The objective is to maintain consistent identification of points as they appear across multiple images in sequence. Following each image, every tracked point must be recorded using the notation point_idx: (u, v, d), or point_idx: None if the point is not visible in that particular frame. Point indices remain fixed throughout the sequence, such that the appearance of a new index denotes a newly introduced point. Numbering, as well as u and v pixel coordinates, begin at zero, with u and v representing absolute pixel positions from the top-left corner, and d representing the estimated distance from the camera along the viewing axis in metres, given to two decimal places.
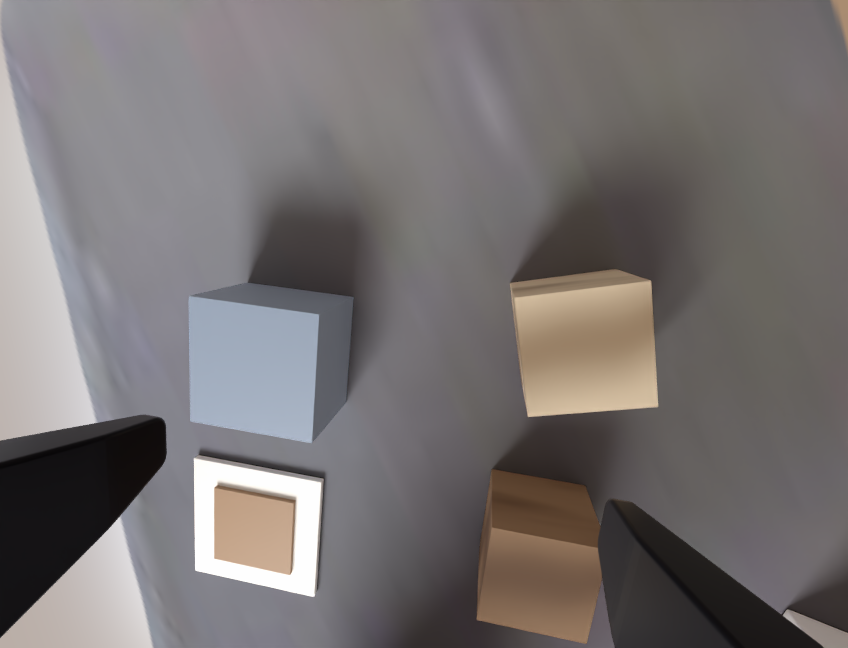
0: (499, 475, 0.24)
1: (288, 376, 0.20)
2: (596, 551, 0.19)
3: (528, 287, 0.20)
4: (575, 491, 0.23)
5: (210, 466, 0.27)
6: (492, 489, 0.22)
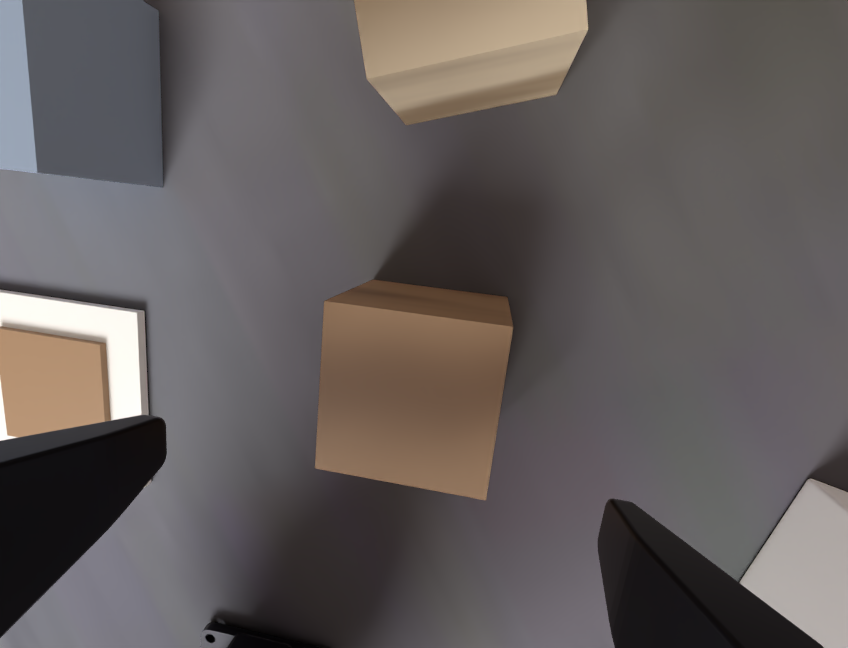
0: (380, 282, 0.16)
1: None
2: (493, 331, 0.11)
3: None
4: (489, 297, 0.15)
5: None
6: (358, 287, 0.15)
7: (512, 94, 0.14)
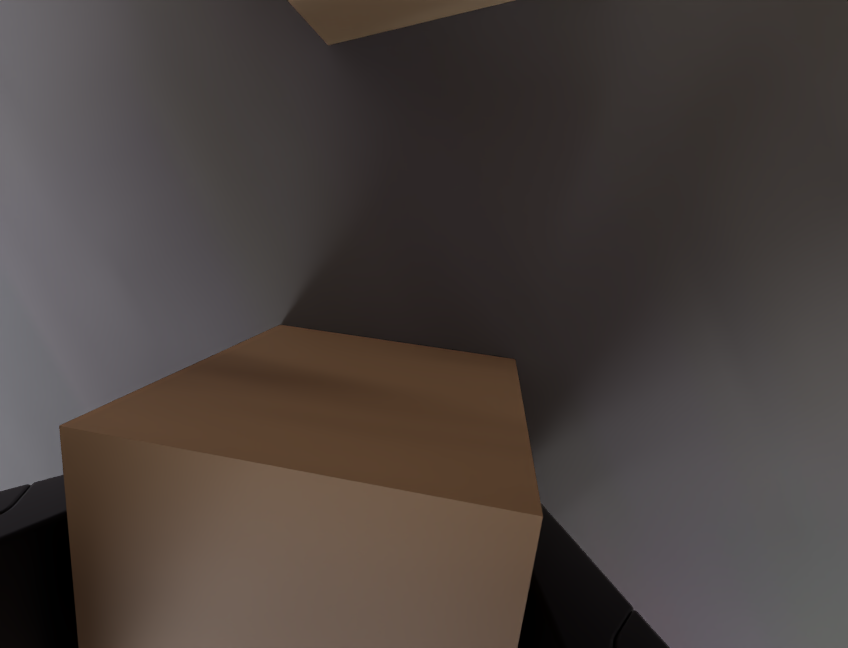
0: (285, 332, 0.09)
1: None
2: (488, 523, 0.04)
3: None
4: (482, 367, 0.08)
5: None
6: (228, 351, 0.08)
7: None
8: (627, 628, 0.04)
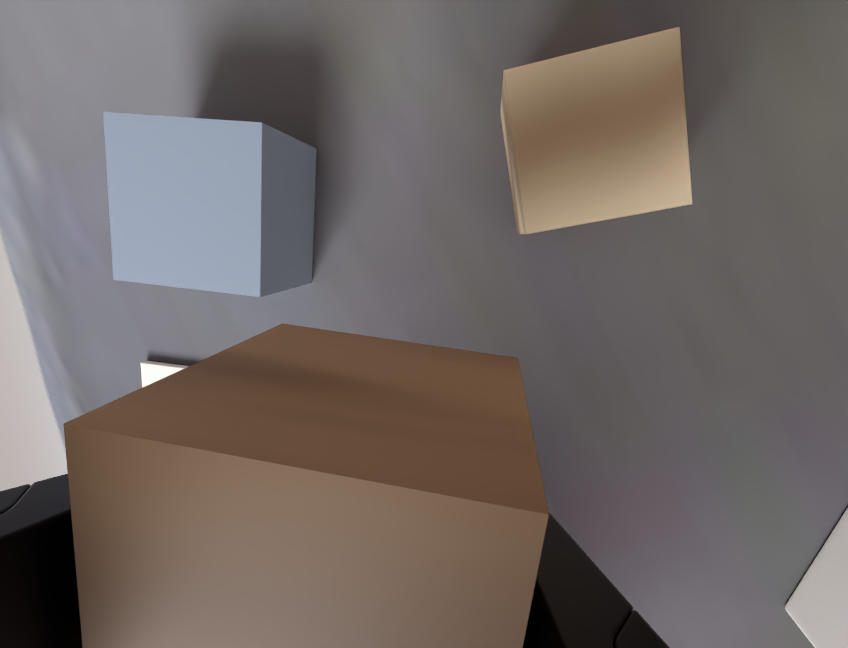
0: (288, 331, 0.09)
1: (227, 209, 0.16)
2: (493, 521, 0.04)
3: None
4: (485, 366, 0.08)
5: (160, 371, 0.23)
6: (230, 350, 0.08)
7: None
8: (627, 628, 0.04)
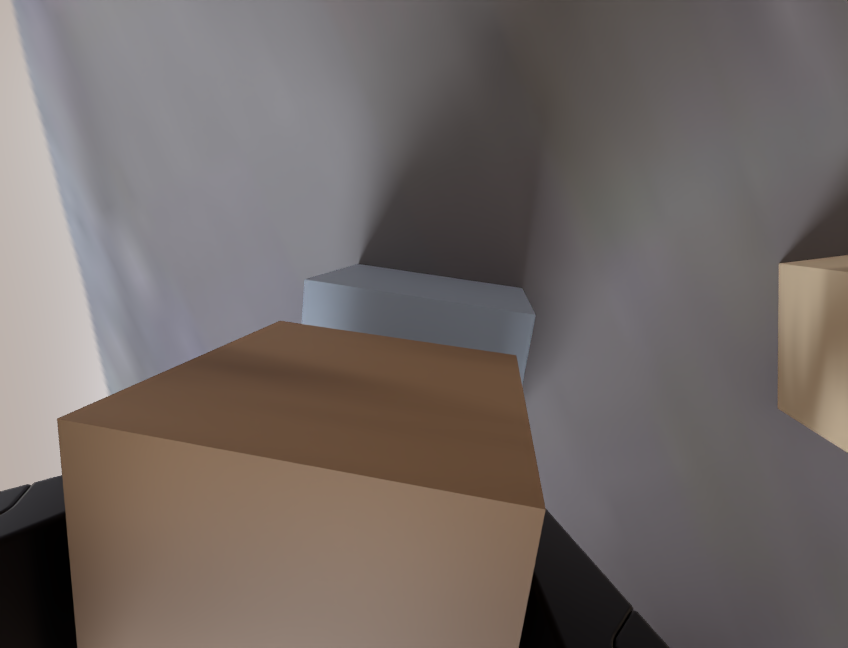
0: (285, 328, 0.09)
1: None
2: (490, 516, 0.04)
3: None
4: (483, 362, 0.08)
5: None
6: (227, 346, 0.08)
7: None
8: (627, 628, 0.04)
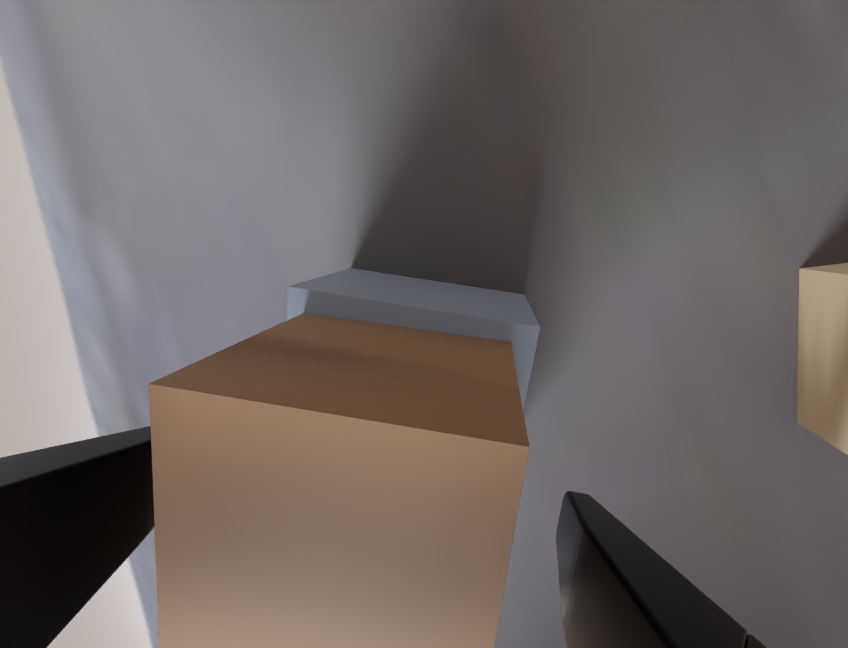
0: (309, 319, 0.10)
1: None
2: (487, 453, 0.05)
3: None
4: (482, 347, 0.09)
5: None
6: (263, 333, 0.09)
7: None
8: None
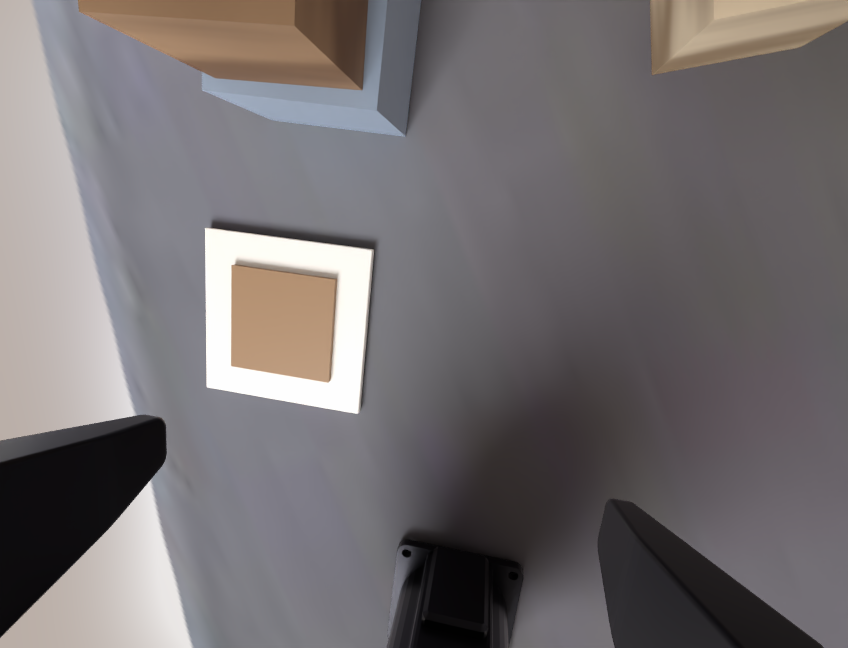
0: None
1: None
2: None
3: None
4: None
5: (226, 238, 0.21)
6: None
7: (773, 44, 0.15)
8: None
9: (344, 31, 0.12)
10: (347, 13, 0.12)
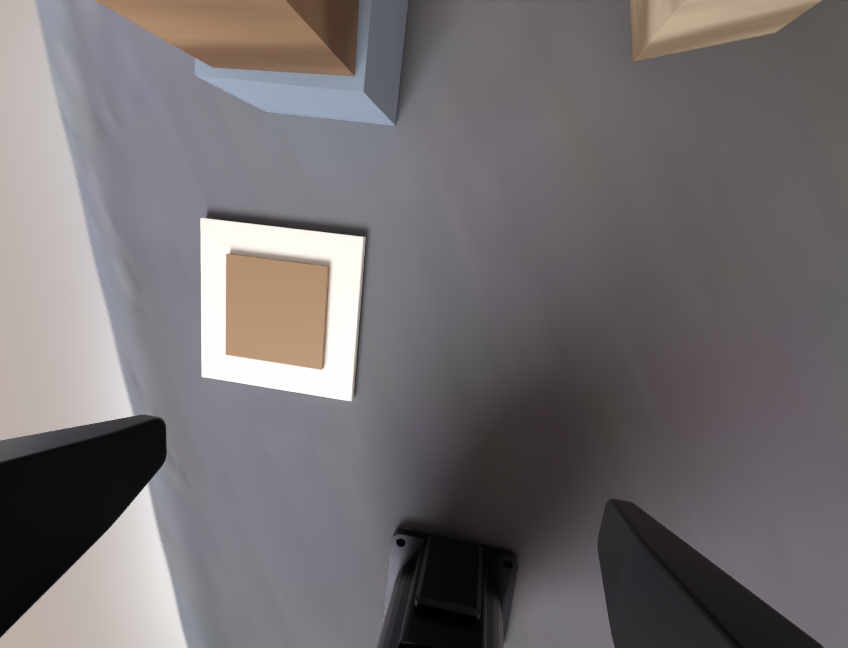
0: None
1: None
2: None
3: None
4: None
5: (221, 227, 0.21)
6: None
7: (748, 29, 0.16)
8: None
9: (335, 15, 0.12)
10: None
